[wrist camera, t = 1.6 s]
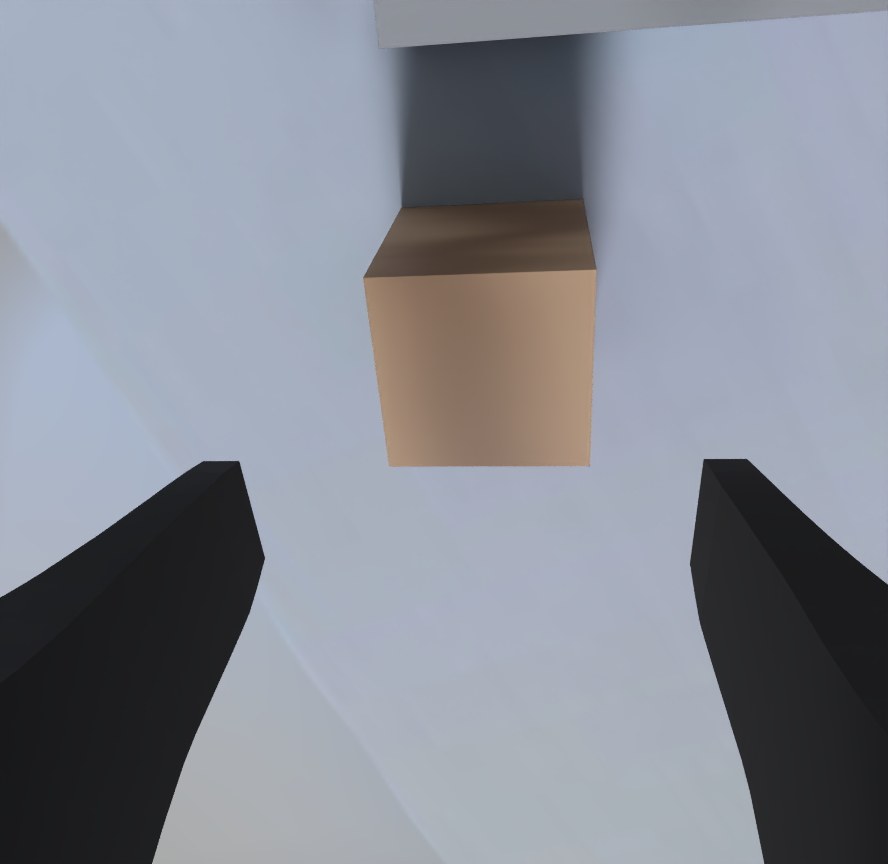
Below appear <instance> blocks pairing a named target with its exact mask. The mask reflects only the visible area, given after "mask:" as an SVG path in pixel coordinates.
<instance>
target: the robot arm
mask: <svg viewBox="0 0 888 864" xmlns="http://www.w3.org/2000/svg"><path fill="white" fill-rule="evenodd" d="M264 560H265V557H264V553H263V549H262V545H261V541H260V538H259V534H258V530H257V526H256V523H255V519H254V515H253V511H252V508H251V504H250V500H249V496H248V493H247V489H246V485H245V481H244V478H243V474H242V470H241V466H240V463H239V461H203V462H201V463H200V464H198V465H196V466H195V467H193V468H192V469H190V470H189V471H187V472H186V473H184V474H183V475H181V476H180V477H178V478H177V479H175V480H174V481H173V482H171V483H170V484H168V485H167V486H166V487H164V488H163V489H162V490H160V491H159V492H157V493H156V494H155V495H153V496H152V497H151V498H150V499H148V500H147V501H145V502H144V503H142V504H141V505H140V506H138V507H137V508H135V509H134V510H133V511H131V512H130V513H129V514H127V515H126V516H124V517H123V518H122V519H120V520H119V521H117V522H116V523H115V524H113V525H112V526H110V527H109V528H108V529H106V530H105V531H104V532H102V533H101V534H99V535H98V536H96V537H95V538H93V539H92V540H90V541H89V542H87V543H86V544H84V545H83V546H81V547H80V548H78V549H77V550H75V551H74V552H72V553H71V554H69V555H68V556H66V557H65V558H63V559H62V560H60V561H59V562H57V563H56V564H54V565H53V566H51V567H50V568H48V569H47V570H45V571H44V572H42V573H41V574H39V575H37V576H36V577H34V578H32V579H31V580H29V581H28V582H26V583H25V584H23V585H21V586H19V587H18V588H16V589H14V590H13V591H11V592H9V593H8V594H6V595H4V596H2V597H0V864H152V862H153V858H154V855H155V852H156V849H157V845H158V842H159V839H160V835H161V832H162V828H163V825H164V822H165V819H166V816H167V813H168V810H169V807H170V804H171V801H172V798H173V795H174V792H175V789H176V786H177V782H178V780H179V777H180V774H181V771H182V768H183V765H184V762H185V759H186V757H187V754H188V752H189V749H190V747H191V744H192V741H193V739H194V737H195V734H196V732H197V730H198V728H199V726H200V723H201V721H202V719H203V716H204V714H205V712H206V710H207V707H208V705H209V703H210V701H211V699H212V697H213V694H214V692H215V690H216V688H217V685H218V683H219V681H220V679H221V677H222V674H223V672H224V670H225V668H226V665H227V663H228V661H229V659H230V657H231V654H232V652H233V650H234V647H235V645H236V643H237V640H238V638H239V636H240V634H241V632H242V629H243V627H244V625H245V622H246V620H247V617H248V615H249V613H250V609H251V606H252V602H253V600H254V596H255V593H256V590H257V586H258V582H259V579H260V575H261V571H262V567H263V564H264ZM690 567H691V573H692V579H693V585H694V592H695V598H696V603H697V609H698V615H699V620H700V625H701V628H702V632H703V635H704V639H705V642H706V645H707V648H708V652H709V655H710V658H711V662H712V665H713V668H714V672H715V675H716V678H717V681H718V685H719V688H720V691H721V694H722V698H723V701H724V704H725V707H726V710H727V714H728V717H729V720H730V723H731V727H732V730H733V733H734V736H735V740H736V743H737V746H738V749H739V753H740V756H741V759H742V763H743V767H744V770H745V774H746V778H747V782H748V786H749V790H750V794H751V799H752V804H753V809H754V814H755V819H756V824H757V829H758V834H759V839H760V844H761V849H762V854H763V859H764V864H888V584H886V583H885V582H884V581H883V580H881V579H880V578H879V577H878V576H876V575H875V574H874V573H872V572H871V571H870V570H869V569H867V568H866V567H865V566H864V565H862V564H861V563H860V562H859V561H858V560H856V559H855V558H854V557H853V556H852V555H850V554H849V553H848V552H847V551H846V550H844V549H843V548H842V547H841V546H840V545H839V544H838V543H836V542H835V541H834V540H833V539H832V538H831V537H830V536H828V535H827V534H826V533H825V532H824V531H823V530H822V529H821V528H819V527H818V526H817V525H816V524H815V523H814V522H813V521H812V520H811V519H810V518H808V517H807V516H806V515H805V514H804V513H803V512H802V511H801V510H800V509H799V508H798V507H797V506H796V505H795V504H794V503H792V502H791V501H790V500H789V499H788V498H787V497H786V496H785V495H784V494H783V493H782V492H781V491H780V490H779V489H778V488H777V487H776V486H775V485H774V484H773V483H772V482H771V481H769V480H768V479H767V478H766V477H765V476H764V475H763V474H762V473H761V472H760V471H759V470H758V469H757V468H756V467H755V466H754V465H753V464H752V463H751V462H750V461H748V460H747V459H704V461H703V469H702V477H701V484H700V492H699V499H698V507H697V515H696V522H695V530H694V538H693V545H692V553H691V560H690Z"/></svg>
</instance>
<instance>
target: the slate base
mask: <svg viewBox="0 0 888 864" xmlns="http://www.w3.org/2000/svg"><path fill="white" fill-rule="evenodd" d="M374 8H375V17H376V26H377V35H378V45H379V49H384V48H397V47H410V46H423V45H437V44H450V43H463V42H476V41H490V40H503V39H516V38H529V37H543V36H556V35H569V34H583V33H596V32H609V31H622V30H636V29H649V28H662V27H675V26H689V25H702V24H715V23H728V22H742V21H755V20H768V19H781V18H795V17H808V16H821V15H835V14H848V13H861V12H874V11H888V0H374Z"/></svg>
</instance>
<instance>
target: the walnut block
mask: <svg viewBox="0 0 888 864" xmlns="http://www.w3.org/2000/svg"><path fill="white" fill-rule="evenodd" d="M363 280H364V287H365V294H366V302H367V309H368V316H369V323H370V331H371V338H372V345H373V352H374V360H375V367H376V374H377V381H378V389H379V396H380V403H381V410H382V418H383V425H384V432H385V439H386V447H387V454H388V461H389V466H590V446H591V417H592V387H593V358H594V329H595V299H596V264H595V259H594V254H593V249H592V244H591V239H590V233H589V228H588V223H587V218H586V213H585V207H584V202H583V199H576V200H555V201H534V202H513V203H492V204H471V205H450V206H429V207H408V208H401V210H400V212H399V213H398V215H397V217H396V219H395V221H394V223H393V224H392V226H391V228H390V230H389V232H388V234H387V235H386V237H385V239H384V241H383V243H382V244H381V246H380V248H379V250H378V252H377V254H376V255H375V257H374V259H373V261H372V263H371V265H370V266H369V268H368V270H367V272H366V274H365V276H364V277H363Z"/></svg>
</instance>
